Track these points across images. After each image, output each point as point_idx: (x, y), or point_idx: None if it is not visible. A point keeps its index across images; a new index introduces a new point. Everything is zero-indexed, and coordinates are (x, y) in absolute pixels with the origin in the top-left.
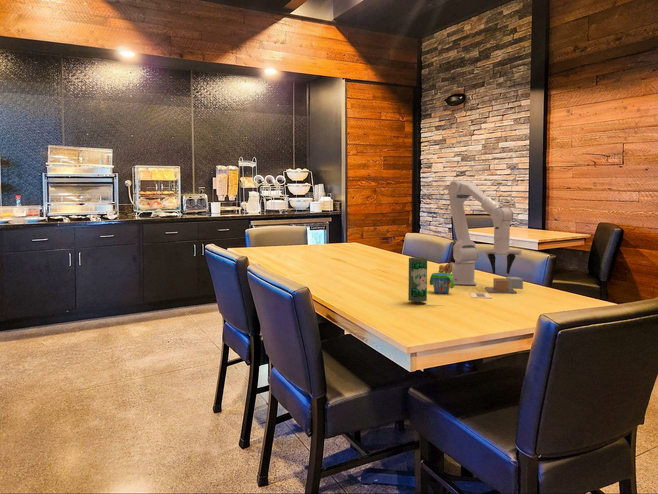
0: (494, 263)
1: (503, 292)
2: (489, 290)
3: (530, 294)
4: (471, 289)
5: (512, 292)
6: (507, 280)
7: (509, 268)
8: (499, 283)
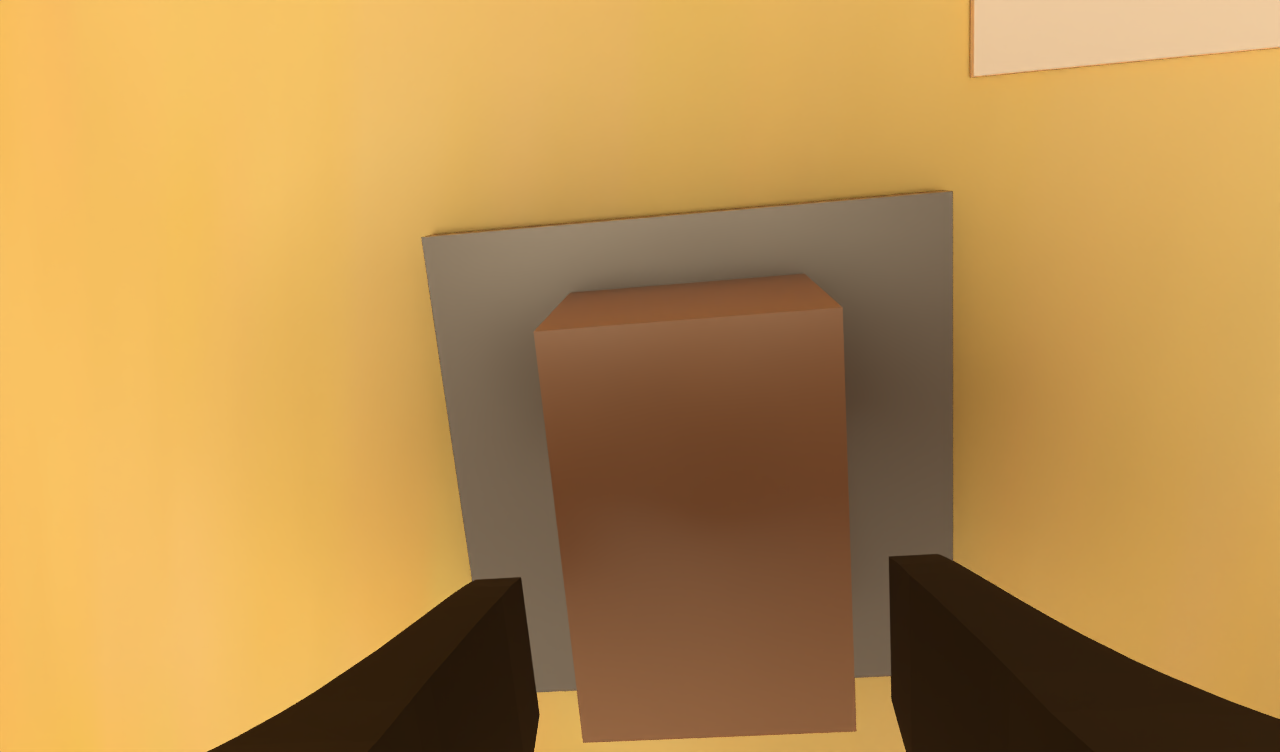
0: (1073, 699)
1: (663, 215)
2: (928, 299)
3: (185, 202)
4: (1228, 529)
5: (494, 229)
6: (552, 402)
7: (415, 634)
8: (749, 304)
